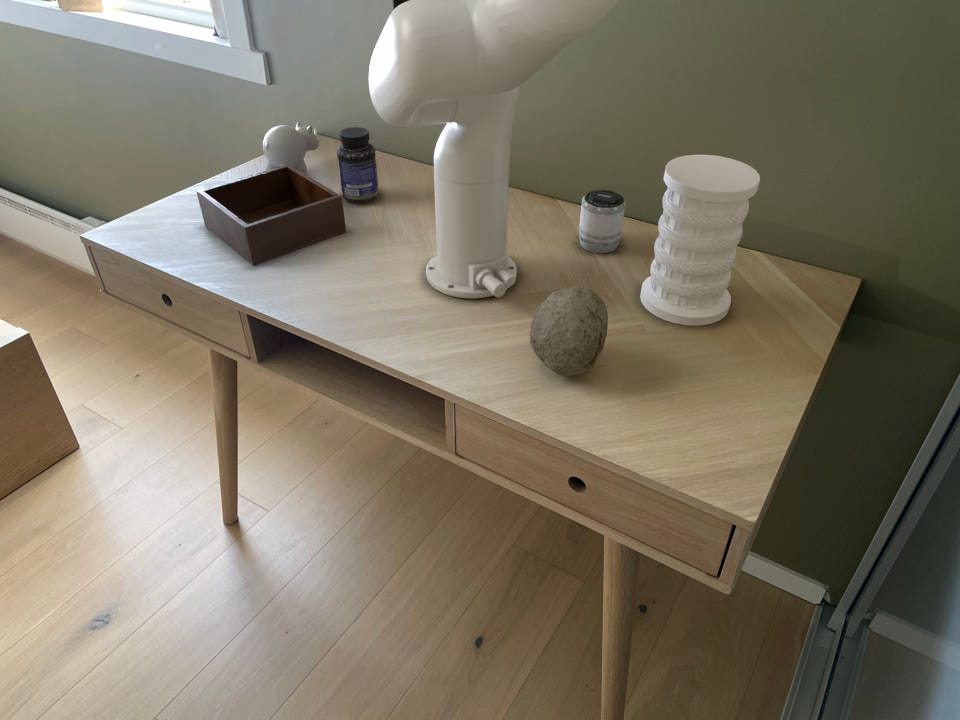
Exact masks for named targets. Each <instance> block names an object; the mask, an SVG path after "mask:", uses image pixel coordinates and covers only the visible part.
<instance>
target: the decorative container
mask: <svg viewBox="0 0 960 720" xmlns="http://www.w3.org/2000/svg"><path fill="white" fill-rule="evenodd" d="M663 182H664V185H666V186H667V187H666V190H665V192H664V194H663V196H662V209H663V210H662V213H661V215H660V218H659V219H658V223H657V228H658V229H657V230H658V236H657V238H656V240H655V241H654V244H653V245H654V246H653V250H654V251H653V252H654V258H653V260H652V262H651V264H650V268H649V272H650V275H649V276H648V277H646V278H645V279H644V280H643V282H642V284H641V289H640V295H639V300H640V302H641V304H642V306H643V307H644V308H645V310H646V311H648V312H650V313H651V314H652V315H654V316H655V317H657V318H659V319H661V320H664V321H667V322H669V323H673V324H676V325H682V326H694V327H695V326H696V327H697V326H705V325H711V324H715V323H717V322H719V321H721V320H722V319H723V318H725V317H726V316H727V314H729V310H730V308H731V304H732V296H731V294H730V292H729V290H728V289H727V288H728V287H729V285H730V283H731V279H732V272H731V269H732V268H733V266H734V265H735V263H736V261H737V257H738V256H737V253H738V252H737V246H738V245H739V243H740V241H742V240H741V238H743V234H744V233H743V222H744V221H745V220H746V219H747V216H748V214H749V210H750V202H749V199H750V198H752V197H754V196H755V195H756V193H757V192H758V191H759V186H760V182H761V175H760V174H759V173H758V171H757V169H755V168H753V167H752V166H751V165H748V164H747V163H744V162H742V161H740V160H737V159H733V158H730V157H725V156H721V155H713V154H688V155H687V154H686V155H682V156H678V157H675V158H673V159H670V160H669V161H668V162H667V163H666V164H665V169H664V174H663Z"/></svg>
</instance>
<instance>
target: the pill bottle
mask: <svg viewBox="0 0 960 720" xmlns="http://www.w3.org/2000/svg"><path fill="white" fill-rule="evenodd" d="M338 137H339V142H340V143H341V144H340V145H339V147H337V149H336V157H337V166H338V173H339V181H340V189H341V196H342V199H343V200H344V201H346V202H347V203H351V204H356V205H362V204H368V203H372V202H374V201H375V200H377V199H378V198H379V196H380V188H379V178H378V177H379V176H378V169H377V168H378V167H377V157H376V149H375V147H374V146H373V145H372V144H371V143H369V141H370V139H371V137H370V132H369V129H367V128H365V127H362V126H361V127H360V126H352V127H345V128H343V129H341V130H340V131H339V132H338Z"/></svg>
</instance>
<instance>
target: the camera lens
mask: <svg viewBox="0 0 960 720" xmlns="http://www.w3.org/2000/svg"><path fill="white" fill-rule="evenodd" d="M626 205H627V203H626V199H625V198H624V197H623V196H622V195H621V194H620V193H618V192H615V191H613V190H608V189H607V190H606V189H596V190H591V191H588V192H587V193H586V194H584V195H583V197H582V198H581V205H580V207H581V208H580V216H579V227H578V239H579V244H580V247H582V249H584V250H586V251H588V252H591V253H594V254H606V253H611V252H613V251H615V250H616V249H618V246H619V243H620V242H621V241H620V240H621V237H622V234H623V224H624V218H625V210H626Z"/></svg>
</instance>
